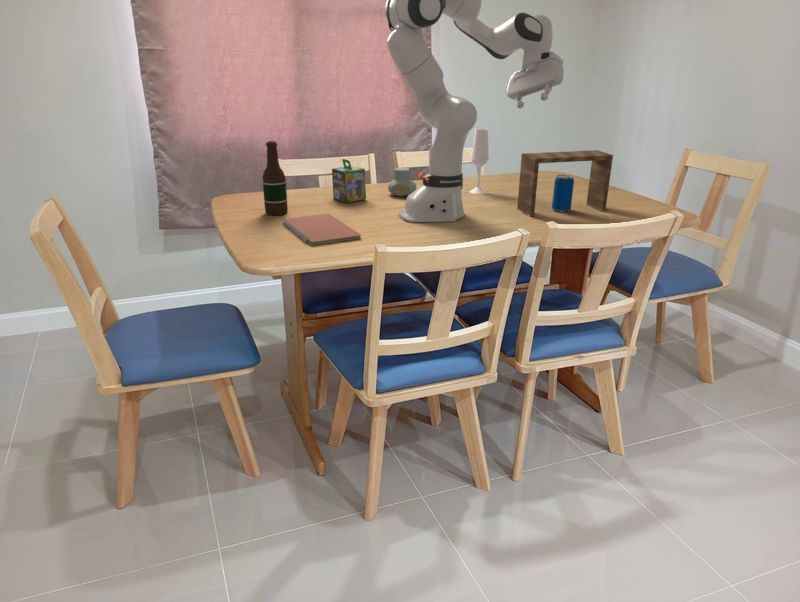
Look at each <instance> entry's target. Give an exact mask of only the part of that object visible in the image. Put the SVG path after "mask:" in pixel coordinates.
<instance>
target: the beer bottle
mask: <svg viewBox="0 0 800 602" xmlns="http://www.w3.org/2000/svg"><path fill="white" fill-rule="evenodd" d="M265 146H266V167H265V169H264V170H263V174H262V188H263V200H264V201H263V203H264V210H265V211H264V212H265V214H266V215H267V216H271V217H278V216H279V215H280V216H284V215H286V213H287V214H288V209H289V207H288V196H287V195H288V193H287V180H286V175H285V172H284V170H283V169H282V168H281V166H280V162H279V154H278V147H277V146H278V142H276V141H273V140H272V141H267V142H266V141H265Z"/></svg>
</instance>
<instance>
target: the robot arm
mask: <svg viewBox="0 0 800 602" xmlns="http://www.w3.org/2000/svg"><path fill="white" fill-rule="evenodd" d="M481 7H482V0H386V2H385V7H384V9H385V16H386V20H387V22H388V24H387V25H388V28H389V30H390V31H391V33H390V34H389V35H388V39H387V41H386V42H387V43H386V47H387V48H388V51H389V52H388V53H389V54H390V57H391V58H392V61H393V62H394V65H395V66H396V68H397V70H398V71H399V73H400V74H401V76H402V77H403V79H404V81H405V83H406V84H407V86H408V87H409V88H410V90H411V92H412V94H413V96H414V97H415V98H414V99H415V101H416V103H417V106H418V114H419V116H420V118H421V120H422V121H423V122H424V123H425V124H426V125H427V126H429V127H430V128H434V129H436V134H435V139H434V141H433V144H432V145H431V146H430V148H429V150H428V172H427V173H426V174H424V173H423V172H420V173H419V174H418V179H419V180H421V181H422V184H421V185H420V186H419V187H417V188H416V190H415V191H414V192H412V193H411V194H410V195H409V196H406V200H405V204H404V205H405V206H404V208H400V209H399V210H398V216H399V217H400V218H401V219H403V220H404V221H406V222H410V223H438V222H439V223H440V222H441V223H443V222H444V223H445V222H449V223H451V222H456V221H457V220H458V219H461V218H464V217H465V214H466V213H465V210H464V206H463V205H464V204H463V196H462V190H463V187H464V174H463V171H462V170H463V156H464V155H463V154H464V149H465V143H466V140H467V137H468V135H469V133H470V131H471V130H472V129H473V128H474V127H475V124H476V123H477V118H478V112H477V109H476V106H475V105H474V103H472V102H471V101H469V100H467V99H466V98H464V97H461V96H456V95H452V94H451V93H449V91H448V90H447V88H446V86H445V85H446V84H445V82H444V71H443V70H442V68H441V66H440V65H439V63H438V61H437V59H436V58H435V56H434V55H433V53H432V51H431V50H430V48H429V47H428V45H427V43H426V42H425V40H424V39H425V38H424V36H423V29H424V28H426V29H427V28H429V27H431V26H434V25H435V24H437V22H438V21H439V20H440V18H441V17H442V14H444V15H445V16H447V17H449V18H451V19H452V21H453V24H454V26H455V27H456V29H458V30H459V31H460V32H462V34H464V35H465V36H466V37H469V39H471V40H473V41H474V42H476V43H477V44H479V46H482V48H484V49H485V50H486V51H487V52H488V53H489V54H490V55H491V57H493V58H495V59H497V60H504V59H505V60H506V58H508V57H510V56H511V55H512V54H513V53H515V52H516V51H518V50H520V49H521V50H522V51H523V54H522V55H523V56H522V57H523V58H522V65H521V69H520V70H518V71H515V72H513V74H512V75H511V76H510V78H509V81H508V82H507V83H508V84H507V88H506V96H507V97H509V99H511V100H513V101H514V100H515V101H516V108H518V109H523V108H524V107H525V106H524V105H525V103H524V102H523V101H522V100H523V97H527V96H530V95H532V94H535V93H539V92H540V91H541V92H542V91H543V93H541V94H540V96H541V97H540V100H541V101H547V100H548V99H549V94H550V93H551V92H552V89H553V87H555V86H558V85H559V86H560V85H561V84H562V83H563V81H564V74H565V73H564V71H565V70H564V66H563V65H564V60H563V58H561V57H560V56H559V55H558V54H556V53H555V52H554V51H551V48H552V44H553V25H552V21H551V20H550V19H549V17H548V16H545V15H543V14H535V15H531V14H529V13H526V12H524V11H522V12H519V13H517V14H515V15H513V16H511V17H510V18H509V19H507V20H506V21H505V22H503V23H502V24H500V25H498V26H495V27H489V26H487V25H486V24H485V23H484V22H482V21H481V20H480V19H478V17H479V14H480V12H481Z"/></svg>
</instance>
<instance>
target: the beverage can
mask: <svg viewBox="0 0 800 602" xmlns="http://www.w3.org/2000/svg"><path fill="white" fill-rule="evenodd" d="M553 183H554V184H553V194H552V204H551V208H552V210H553V211H554V210H556V211H561V212H560V213H566V212H565V211H568V212H569V211H570V210H571V209H572V202H573V194H574V193H573V191H574V185H575V184H574V183H575V180H574V176H572V175H570V174H568V175H567V174H558V175H556V178H554V182H553ZM556 211H555V212H556Z"/></svg>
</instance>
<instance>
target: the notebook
mask: <svg viewBox="0 0 800 602" xmlns="http://www.w3.org/2000/svg"><path fill="white" fill-rule="evenodd" d="M282 225H283V226H284V227H285V228H286V229H288V230H289V232H291V233H292V234H293V235H294V236H296V237H297V238H298V239H299V240H300V241H302V242H303V243H304V244H307V243H308V244H309V245H310V246H311V245H312V246H319V245H326V244H332V243H338V241H339V242H343V241H350V240H358V239H361V236H362V234H360V233H359V232H357V230H355V229H353V228H351V227H350V226H349V225H347V224H345V223H344V222H343V221H341V220H339V219H338V218H337V217H335V216H333V215H332V214H330V213H323V214H321V213H320V214H315V215H305V216H297V217H296V216H295V217H290V218H283V221H282Z"/></svg>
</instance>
